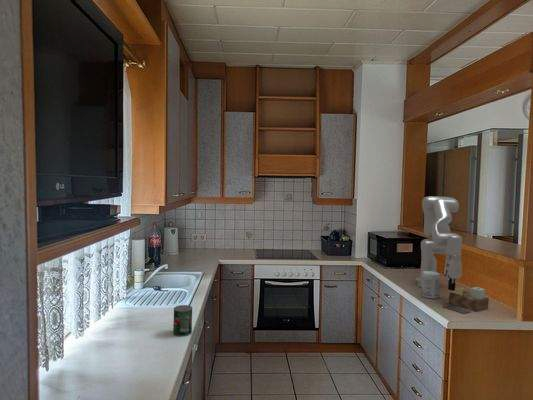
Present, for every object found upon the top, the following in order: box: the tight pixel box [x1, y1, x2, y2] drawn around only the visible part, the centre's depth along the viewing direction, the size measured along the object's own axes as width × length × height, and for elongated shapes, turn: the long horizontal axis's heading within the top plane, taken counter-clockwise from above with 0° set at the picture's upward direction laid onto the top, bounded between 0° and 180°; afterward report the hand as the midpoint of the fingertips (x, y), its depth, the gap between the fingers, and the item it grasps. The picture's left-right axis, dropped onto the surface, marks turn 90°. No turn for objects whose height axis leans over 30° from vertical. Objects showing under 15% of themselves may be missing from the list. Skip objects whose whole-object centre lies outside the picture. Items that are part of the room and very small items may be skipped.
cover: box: [470, 286, 486, 299], centre depth 219 cm, size 5×5×6 cm
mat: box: [442, 304, 472, 315], centre depth 217 cm, size 12×7×1 cm, turn 33°
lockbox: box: [448, 290, 490, 312], centre depth 224 cm, size 16×12×6 cm
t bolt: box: [450, 286, 466, 296], centre depth 226 cm, size 7×6×3 cm
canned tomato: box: [172, 304, 193, 337], centre depth 171 cm, size 8×8×11 cm
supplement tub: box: [421, 271, 440, 300], centre depth 239 cm, size 10×10×15 cm
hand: (451, 290), depth 220 cm, fingers closed
